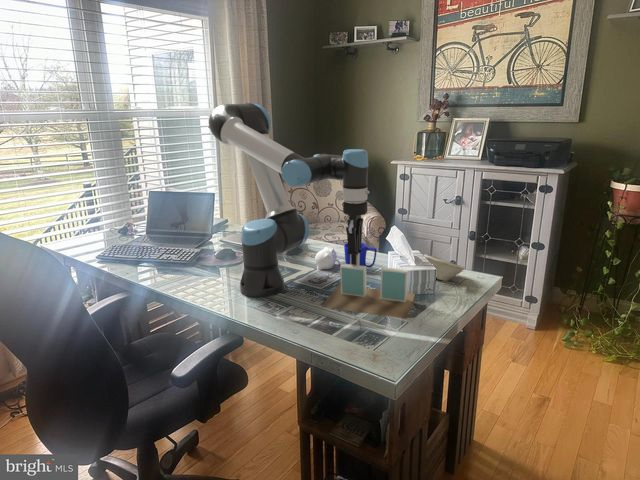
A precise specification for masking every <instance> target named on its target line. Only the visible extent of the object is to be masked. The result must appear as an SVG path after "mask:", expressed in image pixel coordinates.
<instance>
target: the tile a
mask: <svg viewBox="0 0 640 480" xmlns="http://www.w3.org/2000/svg"><path fill="white" fill-rule="evenodd" d="M339 270H340V271H339V273H340V285H341V294H346V295H354V296H362V297H365V296H366V294H367V290H366V288H367V267H366V266H360V265H350V264H346V263H342V264H341V265H340V266H339Z"/></svg>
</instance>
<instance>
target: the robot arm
mask: <svg viewBox="0 0 640 480" xmlns="http://www.w3.org/2000/svg"><path fill="white" fill-rule="evenodd" d="M271 120H272V119H271V116H270V114H269V112H268V110H266V108H265V107H263V106H262V105H260V104H258V103H251V102H246V103H224V104H223V103H222V104H220V105H218V106H216V107H214V109H213V110H212V112H211V113H210V115H209V118H208V127H209V130H210V132H211V134H212V135H213V136H214V137H215V139H217V141H219V142H221V143H222V144H224V145H227V146H234V147H236V148H237V149H238V150H240V151H242V152H244V153H245V155H246V158H247V160H248V164H249V167H250V169H251V173H252V175H253V177H254V180H255V182H256V186H257V188H258V192H259V193H260V196H261V199H262V202H263V205H264V208H265V210H266V215H265V218H260V219H253V220H251V221H248V222H247V223H245V224H244V225H243V226H242V228H241V238H240V239H241V246H242V247H241V249H242V258H243V261H242V262H243V271H242V274H241V278H240V283H239V291H240V292H241V294H243V295H245V296H247V297H253V298H265V297H271V296H274V295H275V296H276V295H277V294H279V293H281V292H283V290H284V289H285V279H284V276H283V275H282V272H281V270H280V267H279V255H281V254H283V253H287V252H288V251H291V250H294V249H298V248H299V247H301V246H302V245H305V243H306V242H307V241H308V238H309V236H310V225H309V222H308V219H307V218H306V217H305V216H304V215H303V214H301V213H298V211H297V209H296V207H295V206H293V205H291V204H290V202H289V198H288V195H287V193H286V190H285V188H284V185H283V182H282V180H283V181H284V182H285V184H286V185H287V186H289V187H293V188H294V187H295V188H296V187H303V186H306V185H311V184H314V183H317V182H323V181H327V180H335V181H342V199H343V202H342V212H343V214H344V215H346V216H348V217H349V218H348V219H347V227H345V231H346V241H347V243H348V253H347V254H350V265H359V256H360V253H358V252H361V253H362V250H360V249H361V243H363V242H362V239H363V226H364V225H363V224H364V217H362V216H364V215H366V214H367V213H368V202H367V200H368V194H370V191H369V190H368V187H369V186H368V185H369V184H368V183H369V181H368V177H369V175H368V174H369V154H368V151H367V150H365V149H359V148H358V149H357V148H355V149H354V148H351V149H350V148H349V149H344V151H343V153H342V155H336V154H327V153H321V154H320V153H317V154H313V156H311V157H307V158H306V157H303V156H301V155H299V154H298V153H296V152H294V151H293V150H291V149H289V148H287V147H285V146H283V145H282V144H280V143H278V142H277V141H274V140H273V139H271V138H270V133H269V132H270V131H271V128H272V127H271V125H272V122H271ZM280 175H281V177H282V179H281V177H280Z"/></svg>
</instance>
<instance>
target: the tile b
mask: <svg viewBox="0 0 640 480" xmlns="http://www.w3.org/2000/svg"><path fill="white" fill-rule="evenodd" d="M408 278H409V270H408V269H404V268H394V267H385V266H383V267H382V266H381V268H380V290H381V297H380V299H386V300H393V301H401V302H406V300H407V293H408V283H409V281H408V280H409V279H408Z"/></svg>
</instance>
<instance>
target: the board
mask: <svg viewBox="0 0 640 480" xmlns="http://www.w3.org/2000/svg"><path fill="white" fill-rule="evenodd" d="M366 290H367V294H366V296H365V297H362V296H354V295H346V294H341V284H338V285H337V286H336V288H335V289H334V290H333V291H332V293H331V294H330V295H329V297H328V298H327V299H326V301H324V303H323V304H322V305H321V308H327V309H331V310H340V311H341V310H342V311H347V312H354V313H355V312H356V313H361V314H369V315H377V316H384V317H390V318H392V317H393V318H398V319H408V317H409V313H410V311H411V308H412V305H413V302H414V299H415V297H416V293H409V292H407V300H406V302H401V301H393V300H386V299H380V297H381V289H377V288H376V289H375V288H369V287H368V288H367V287H366Z"/></svg>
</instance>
